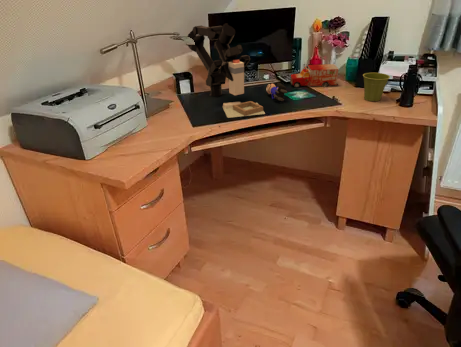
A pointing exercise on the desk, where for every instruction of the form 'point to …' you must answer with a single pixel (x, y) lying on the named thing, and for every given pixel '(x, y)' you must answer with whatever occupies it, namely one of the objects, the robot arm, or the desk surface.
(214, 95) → the robot arm
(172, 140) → the desk surface
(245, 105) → the jig
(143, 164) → the desk surface
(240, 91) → the tapered square pillar
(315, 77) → the red toy bus
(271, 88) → the character figurine
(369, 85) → the plant pot
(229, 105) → the plate
